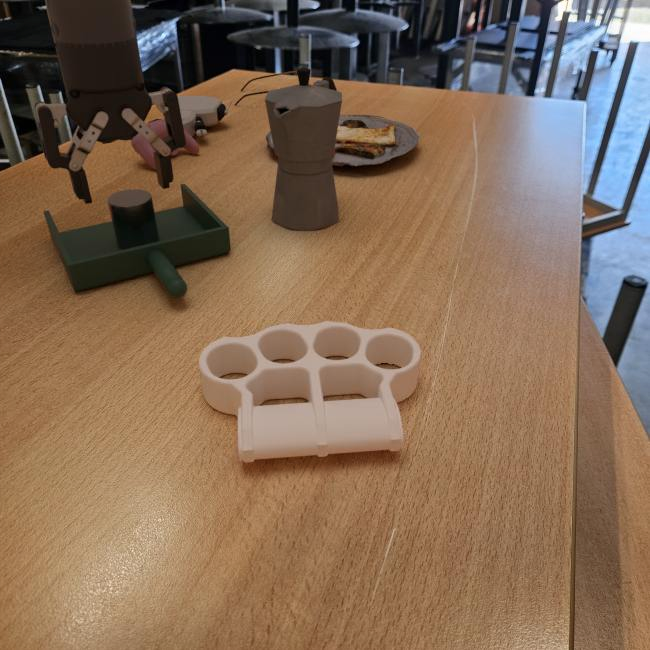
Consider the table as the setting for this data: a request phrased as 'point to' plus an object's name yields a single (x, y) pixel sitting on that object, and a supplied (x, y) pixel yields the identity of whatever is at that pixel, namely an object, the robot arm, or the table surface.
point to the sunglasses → (260, 78)
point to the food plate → (368, 140)
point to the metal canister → (133, 218)
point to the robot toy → (200, 113)
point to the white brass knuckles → (312, 388)
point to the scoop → (143, 247)
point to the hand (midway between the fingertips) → (126, 193)
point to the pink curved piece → (160, 129)
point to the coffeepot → (304, 152)
